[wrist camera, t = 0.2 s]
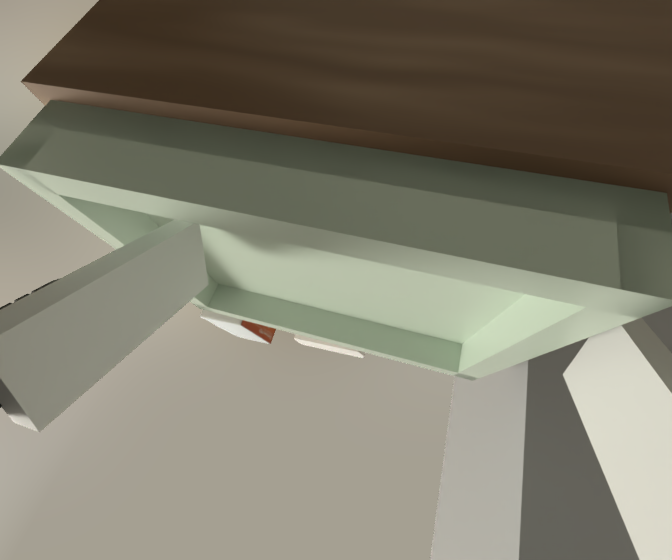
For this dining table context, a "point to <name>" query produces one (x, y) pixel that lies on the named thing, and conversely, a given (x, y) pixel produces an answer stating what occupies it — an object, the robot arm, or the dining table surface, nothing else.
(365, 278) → the tray
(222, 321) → the small box
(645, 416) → the robot arm
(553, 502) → the grey tall block
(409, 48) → the riser
